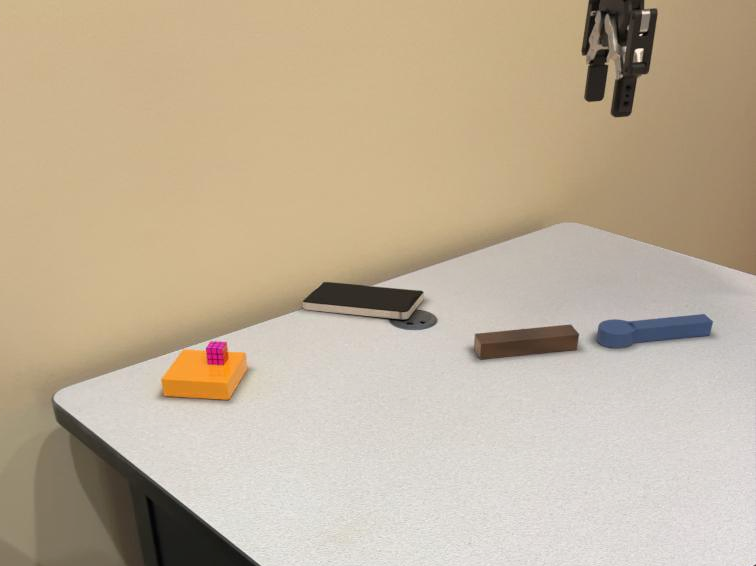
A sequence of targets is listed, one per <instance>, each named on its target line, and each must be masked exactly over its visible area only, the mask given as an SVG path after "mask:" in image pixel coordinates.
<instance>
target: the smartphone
mask: <svg viewBox="0 0 756 566" xmlns="http://www.w3.org/2000/svg"><path fill="white" fill-rule="evenodd" d="M424 297H425V292H424V291H423V290H419V289H408V288H397V287H387V286H376V285H366V284H365V285H364V284H353V283H344V282H343V283H342V282H332V281H322V282H321V283H320V284H319V285H318V286H317V287H316V288H315V289H314V290H313V291H311V293H310V294H308V295H307V296H306V297H305V298H304V299H303V300H302V309H303V310H306V311H316V312H326V313H336V314H343V315H345V314H346V315H354V316H355V315H356V316H365V317H375V318H385V319H393V320H394V319H395V320H408V319H409V318H410V317H411V316H412V314H413V313H414V312H415V311H416V309H417V308H418V307H419V306H420V305H421V303H422V302H423V301H424Z"/></svg>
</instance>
